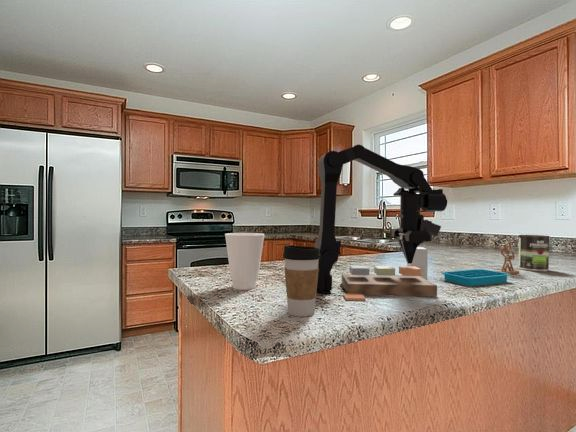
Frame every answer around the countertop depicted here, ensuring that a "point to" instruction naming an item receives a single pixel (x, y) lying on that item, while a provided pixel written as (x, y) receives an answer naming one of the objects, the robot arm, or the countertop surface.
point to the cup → (244, 258)
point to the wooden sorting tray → (388, 285)
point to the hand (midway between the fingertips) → (409, 263)
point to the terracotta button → (409, 271)
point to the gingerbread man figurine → (504, 249)
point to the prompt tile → (354, 297)
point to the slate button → (359, 270)
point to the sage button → (384, 270)
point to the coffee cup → (301, 279)
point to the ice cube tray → (475, 277)
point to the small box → (420, 261)
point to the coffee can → (534, 252)
